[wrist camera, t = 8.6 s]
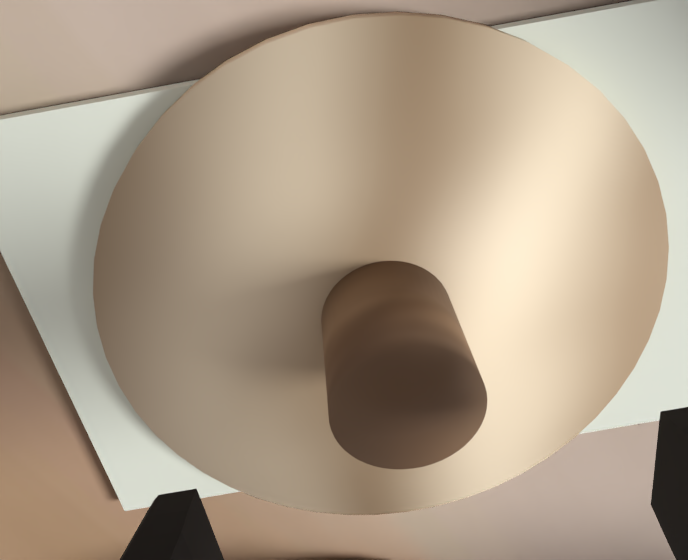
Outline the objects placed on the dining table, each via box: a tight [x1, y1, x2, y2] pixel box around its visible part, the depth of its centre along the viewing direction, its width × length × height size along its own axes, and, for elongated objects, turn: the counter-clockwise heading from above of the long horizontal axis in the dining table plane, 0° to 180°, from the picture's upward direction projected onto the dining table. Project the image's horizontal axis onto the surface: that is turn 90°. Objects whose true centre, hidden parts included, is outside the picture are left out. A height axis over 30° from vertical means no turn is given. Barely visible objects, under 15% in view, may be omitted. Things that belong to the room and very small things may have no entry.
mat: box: [0, 0, 688, 511], centre depth 16 cm, size 16×11×1 cm
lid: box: [93, 12, 669, 515], centre depth 14 cm, size 13×13×4 cm
